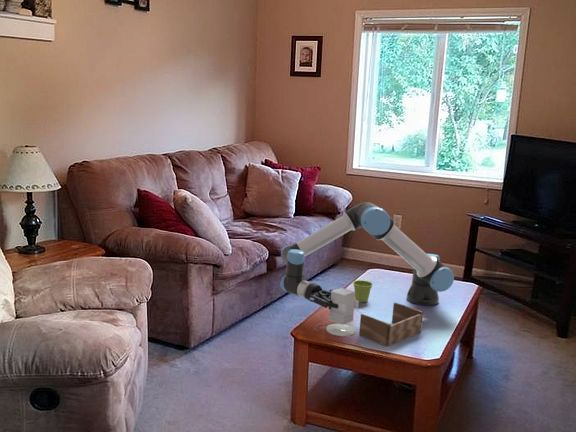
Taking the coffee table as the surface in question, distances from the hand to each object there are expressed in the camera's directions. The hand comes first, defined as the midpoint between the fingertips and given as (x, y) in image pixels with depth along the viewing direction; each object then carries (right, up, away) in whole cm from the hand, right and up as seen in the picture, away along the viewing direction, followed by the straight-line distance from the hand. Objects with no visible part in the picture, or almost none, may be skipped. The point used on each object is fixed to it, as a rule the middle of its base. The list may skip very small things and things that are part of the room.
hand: (351, 306), depth 245 cm
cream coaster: (-4, -11, +6) cm, 13 cm away
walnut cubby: (+17, -12, +5) cm, 21 cm away
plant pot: (+9, -4, +44) cm, 45 cm away
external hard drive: (+28, -10, +24) cm, 39 cm away
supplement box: (-4, -7, +5) cm, 9 cm away
